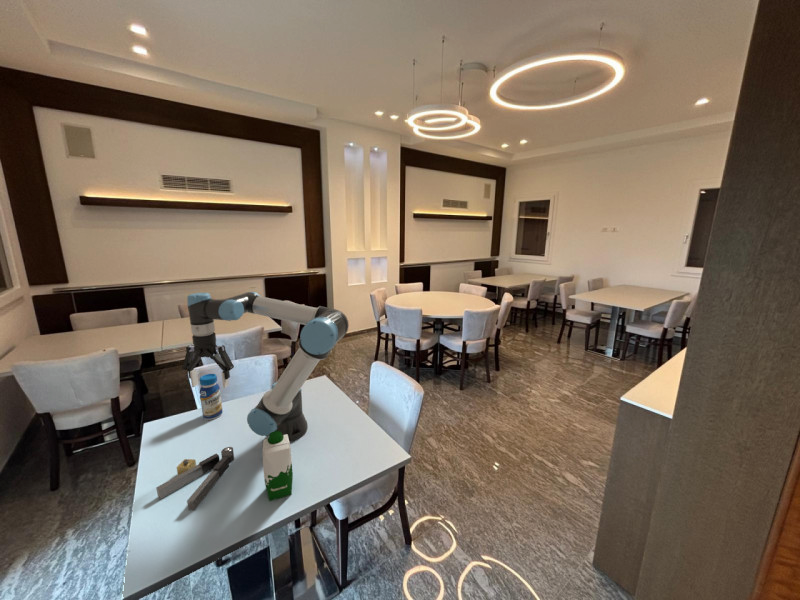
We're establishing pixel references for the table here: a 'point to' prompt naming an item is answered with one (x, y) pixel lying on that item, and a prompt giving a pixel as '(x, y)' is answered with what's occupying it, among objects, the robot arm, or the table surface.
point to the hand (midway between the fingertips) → (210, 386)
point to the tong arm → (187, 476)
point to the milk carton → (277, 465)
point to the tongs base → (211, 478)
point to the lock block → (185, 465)
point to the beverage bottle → (210, 397)
